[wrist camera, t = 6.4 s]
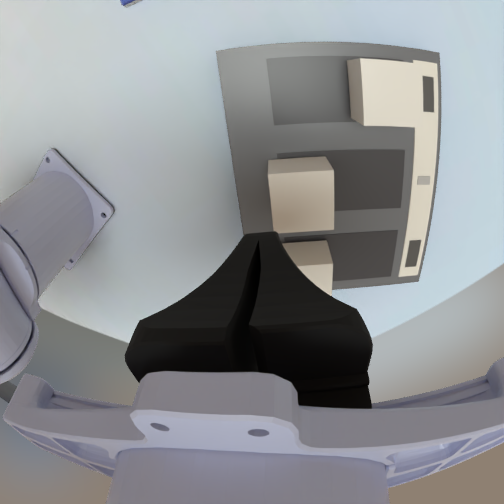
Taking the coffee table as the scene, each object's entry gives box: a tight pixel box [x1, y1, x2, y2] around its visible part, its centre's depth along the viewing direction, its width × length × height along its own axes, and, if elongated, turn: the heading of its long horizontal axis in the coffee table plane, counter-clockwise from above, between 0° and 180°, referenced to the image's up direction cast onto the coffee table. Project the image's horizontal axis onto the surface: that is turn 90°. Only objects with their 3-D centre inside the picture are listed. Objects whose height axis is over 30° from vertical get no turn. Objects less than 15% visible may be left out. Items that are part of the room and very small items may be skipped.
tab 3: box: [347, 58, 423, 128], centre depth 14 cm, size 4×4×3 cm
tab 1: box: [268, 156, 334, 233], centre depth 17 cm, size 4×4×3 cm
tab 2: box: [282, 240, 333, 296], centre depth 21 cm, size 4×4×3 cm
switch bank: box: [216, 42, 441, 290], centre depth 19 cm, size 14×18×2 cm
